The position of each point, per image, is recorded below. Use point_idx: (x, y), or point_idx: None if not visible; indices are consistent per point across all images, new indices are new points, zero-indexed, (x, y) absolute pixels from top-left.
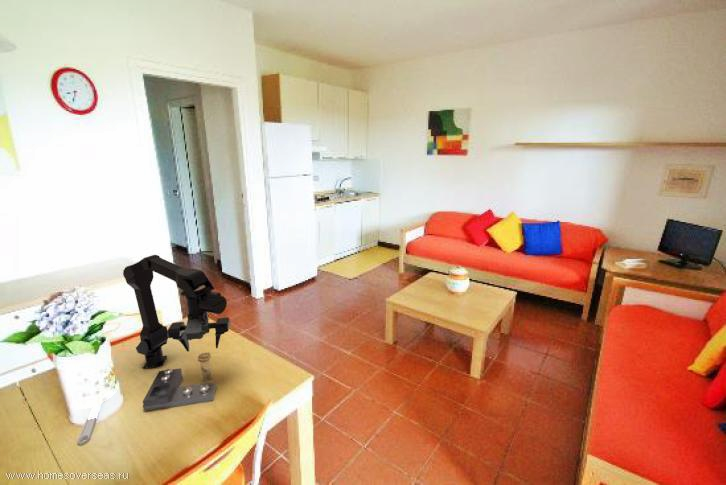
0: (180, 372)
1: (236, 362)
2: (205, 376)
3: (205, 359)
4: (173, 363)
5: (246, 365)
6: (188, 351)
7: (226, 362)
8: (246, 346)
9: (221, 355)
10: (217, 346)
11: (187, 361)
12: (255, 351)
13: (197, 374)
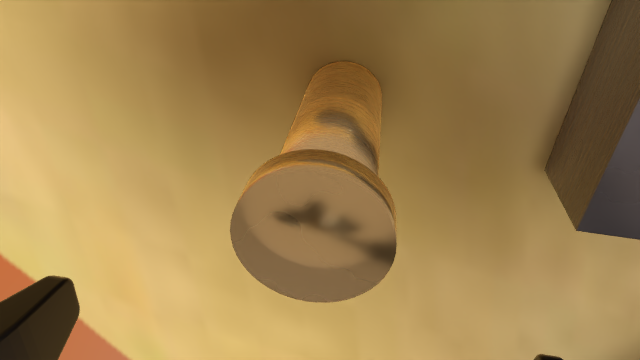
0: (581, 187)
1: (148, 214)
2: (346, 77)
3: (285, 165)
4: (591, 349)
5: (61, 154)
6: (542, 356)
7: (221, 238)
8: (125, 343)
9: (270, 317)
10: (12, 297)
11: (495, 337)
12: None
13: (425, 174)
